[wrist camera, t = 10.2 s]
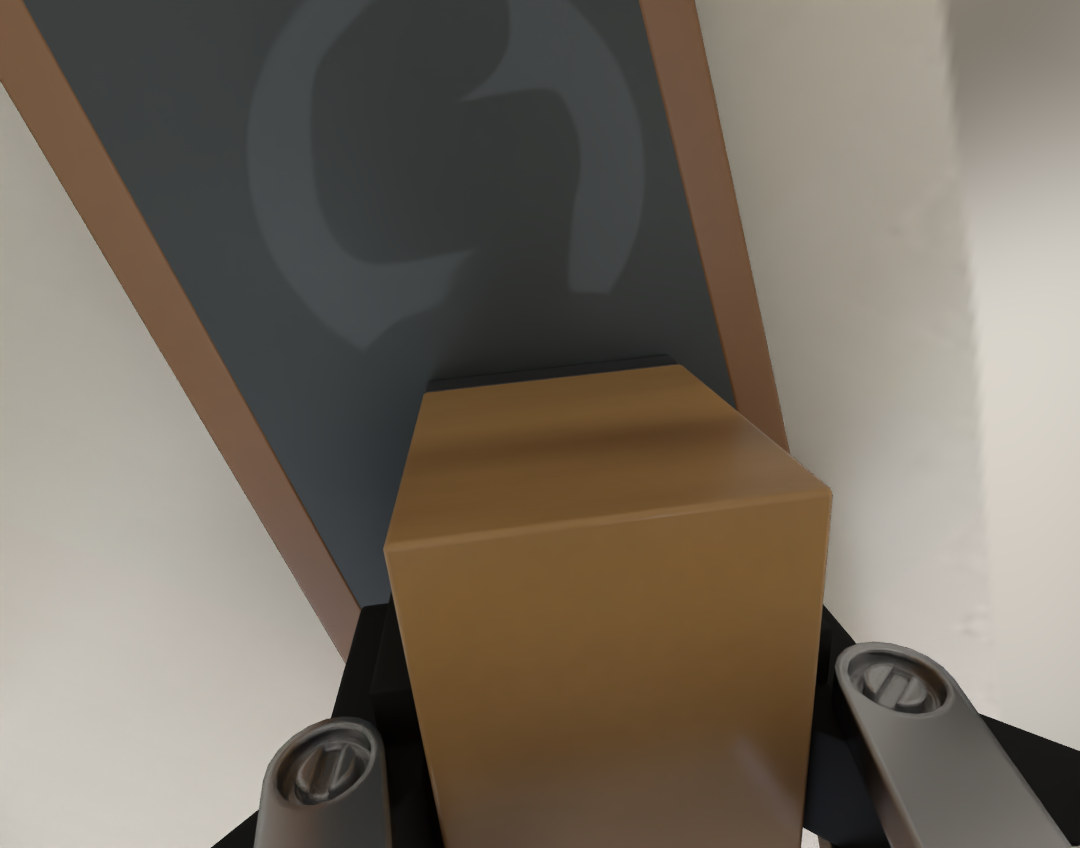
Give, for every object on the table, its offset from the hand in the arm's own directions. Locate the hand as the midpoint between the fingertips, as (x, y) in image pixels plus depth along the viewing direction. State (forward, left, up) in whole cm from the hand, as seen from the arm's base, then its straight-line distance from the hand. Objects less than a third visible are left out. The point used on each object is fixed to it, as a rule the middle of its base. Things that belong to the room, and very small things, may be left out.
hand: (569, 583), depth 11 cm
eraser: (0, 0, 0) cm, 0 cm away
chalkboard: (-2, -1, -1) cm, 3 cm away
